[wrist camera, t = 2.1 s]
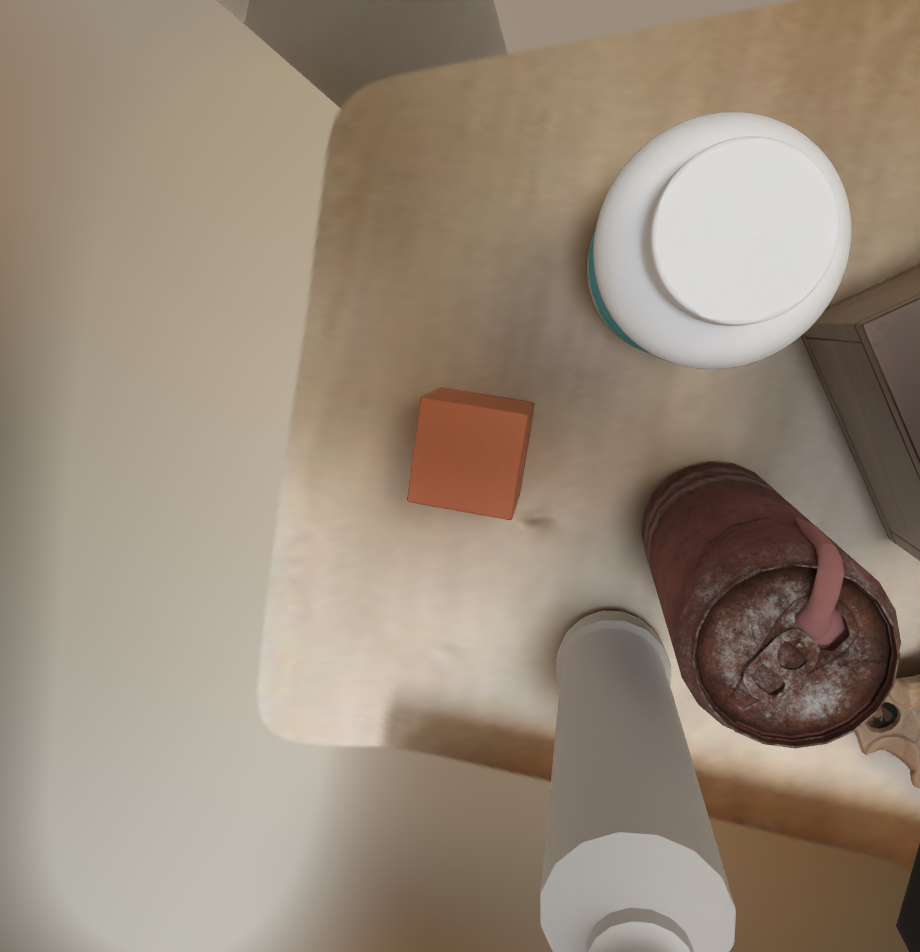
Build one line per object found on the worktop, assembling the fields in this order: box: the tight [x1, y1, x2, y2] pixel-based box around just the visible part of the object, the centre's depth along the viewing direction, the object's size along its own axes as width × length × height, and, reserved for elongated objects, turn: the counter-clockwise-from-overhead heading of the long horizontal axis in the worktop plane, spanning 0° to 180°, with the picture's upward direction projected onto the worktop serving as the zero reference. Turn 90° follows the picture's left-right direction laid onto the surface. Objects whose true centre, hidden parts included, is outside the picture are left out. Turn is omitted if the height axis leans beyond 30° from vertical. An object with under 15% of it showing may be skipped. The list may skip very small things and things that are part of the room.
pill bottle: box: [587, 112, 851, 369], centre depth 26 cm, size 8×7×14 cm
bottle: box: [541, 611, 736, 952], centre depth 25 cm, size 5×5×25 cm
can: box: [642, 462, 901, 748], centre depth 28 cm, size 6×6×14 cm
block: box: [407, 388, 535, 520], centre depth 34 cm, size 4×4×4 cm
